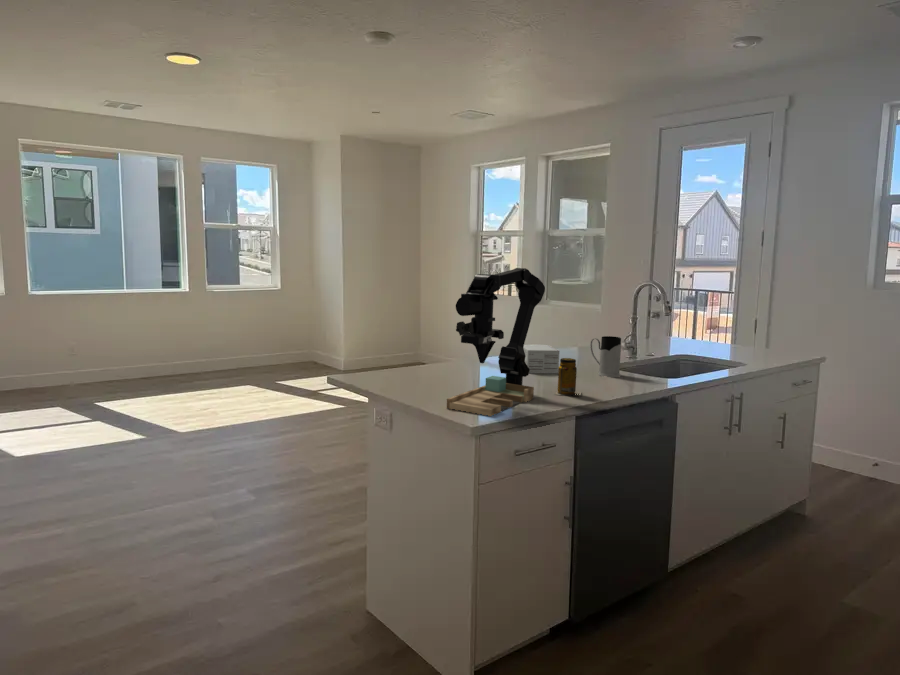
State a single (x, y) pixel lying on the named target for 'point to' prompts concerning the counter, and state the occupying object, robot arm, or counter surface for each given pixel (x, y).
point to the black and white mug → (609, 356)
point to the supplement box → (541, 358)
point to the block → (495, 383)
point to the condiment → (567, 377)
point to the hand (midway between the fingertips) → (482, 363)
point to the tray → (490, 399)
